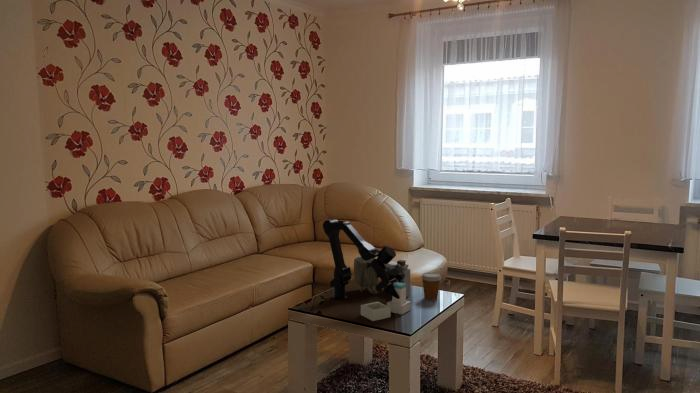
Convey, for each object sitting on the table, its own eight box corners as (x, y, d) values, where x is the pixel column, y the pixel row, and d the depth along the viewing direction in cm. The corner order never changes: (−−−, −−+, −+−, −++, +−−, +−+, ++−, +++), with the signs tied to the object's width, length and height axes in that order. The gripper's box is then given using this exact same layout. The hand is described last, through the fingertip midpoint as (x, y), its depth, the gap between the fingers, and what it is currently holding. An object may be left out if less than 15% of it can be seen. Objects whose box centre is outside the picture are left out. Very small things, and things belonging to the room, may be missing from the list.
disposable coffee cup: (439, 302, 246) (439, 277, 244) (419, 300, 249) (419, 276, 247) (441, 296, 254) (442, 273, 253) (423, 294, 258) (423, 271, 256)
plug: (392, 310, 233) (392, 284, 231) (397, 308, 236) (397, 282, 235) (400, 312, 230) (401, 286, 229) (405, 310, 234) (406, 283, 232)
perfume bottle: (409, 295, 257) (410, 260, 255) (403, 298, 251) (404, 262, 249) (398, 293, 260) (398, 258, 258) (391, 296, 255) (392, 261, 253)
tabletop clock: (378, 294, 257) (378, 246, 254) (360, 296, 255) (361, 247, 252) (369, 287, 271) (369, 240, 268) (353, 288, 269) (353, 241, 266)
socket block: (360, 314, 227) (360, 305, 227) (378, 311, 232) (378, 301, 232) (372, 321, 219) (372, 311, 219) (390, 317, 224) (390, 307, 224)
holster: (386, 311, 232) (387, 302, 232) (395, 306, 239) (395, 298, 238) (402, 314, 228) (402, 305, 227) (410, 309, 234) (410, 301, 234)
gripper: (381, 263, 225) (402, 292, 220) (402, 255, 241) (422, 282, 235) (366, 278, 231) (387, 306, 226) (387, 269, 246) (407, 295, 241)
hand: (401, 297), depth 232 cm, fingers closed on plug, 4 cm apart
